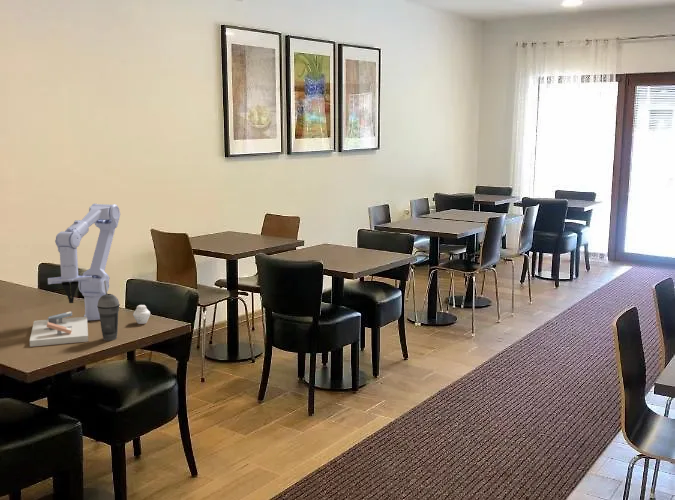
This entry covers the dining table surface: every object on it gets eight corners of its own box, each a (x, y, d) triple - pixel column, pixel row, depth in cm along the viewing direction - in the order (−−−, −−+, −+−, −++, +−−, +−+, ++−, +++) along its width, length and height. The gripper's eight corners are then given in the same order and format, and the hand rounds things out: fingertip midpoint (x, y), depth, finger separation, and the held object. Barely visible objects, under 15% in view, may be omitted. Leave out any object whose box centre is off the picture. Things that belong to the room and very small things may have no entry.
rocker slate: (72, 313, 250) (71, 310, 250) (72, 315, 247) (71, 312, 247) (49, 319, 247) (48, 316, 247) (48, 321, 245) (47, 318, 244)
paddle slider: (57, 326, 241) (56, 318, 241) (56, 328, 238) (56, 320, 238) (49, 327, 240) (49, 318, 240) (49, 329, 237) (48, 320, 237)
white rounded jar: (130, 322, 255) (129, 304, 253) (144, 319, 259) (144, 301, 258) (139, 326, 250) (138, 307, 249) (153, 322, 255) (153, 304, 254)
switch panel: (87, 321, 255) (86, 312, 255) (88, 341, 231) (87, 331, 231) (34, 326, 249) (33, 317, 249) (29, 346, 225) (29, 336, 225)
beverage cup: (108, 343, 230) (105, 284, 227) (94, 339, 234) (91, 281, 230) (125, 337, 236) (123, 280, 233) (111, 334, 240) (108, 278, 236)
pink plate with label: (70, 331, 235) (71, 328, 235) (70, 333, 232) (71, 330, 232) (46, 324, 232) (47, 321, 232) (46, 326, 229) (47, 323, 229)
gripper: (46, 268, 237) (48, 306, 240) (91, 265, 242) (93, 303, 245) (47, 264, 244) (49, 302, 246) (90, 262, 249) (92, 299, 251)
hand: (71, 302), depth 246 cm, fingers closed
